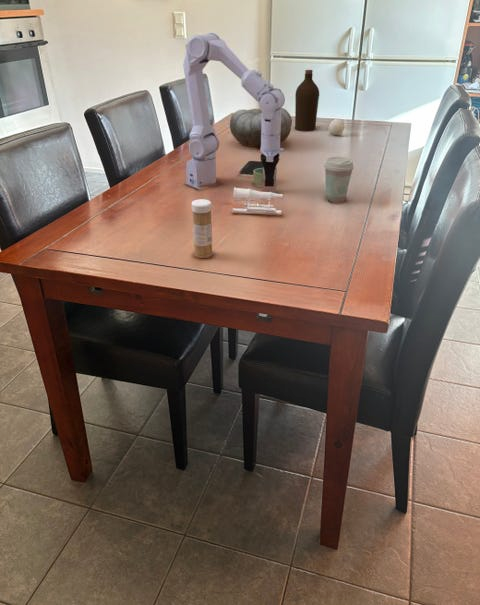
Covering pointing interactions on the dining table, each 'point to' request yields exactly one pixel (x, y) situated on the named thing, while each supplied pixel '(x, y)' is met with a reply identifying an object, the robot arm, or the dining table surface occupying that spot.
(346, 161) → the coffee cup
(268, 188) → the rectangular block
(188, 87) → the robot arm
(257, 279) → the dining table surface
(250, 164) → the phone
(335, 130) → the baseball
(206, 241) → the sprinkles bottle
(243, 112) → the gourd
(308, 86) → the olive oil
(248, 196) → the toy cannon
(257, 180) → the cup
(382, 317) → the dining table surface
